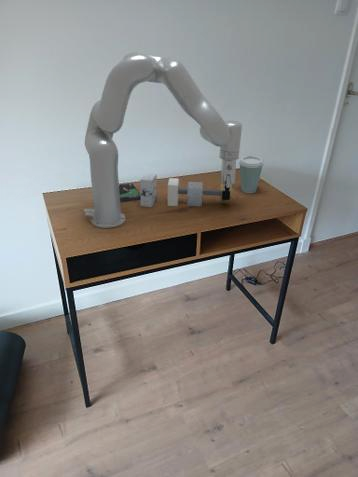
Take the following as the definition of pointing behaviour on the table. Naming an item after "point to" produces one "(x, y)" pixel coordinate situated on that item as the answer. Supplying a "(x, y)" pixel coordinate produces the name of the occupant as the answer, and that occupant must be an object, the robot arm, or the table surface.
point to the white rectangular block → (173, 192)
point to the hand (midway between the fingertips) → (225, 196)
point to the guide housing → (195, 194)
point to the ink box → (148, 189)
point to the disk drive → (128, 193)
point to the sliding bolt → (210, 192)
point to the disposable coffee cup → (250, 173)
